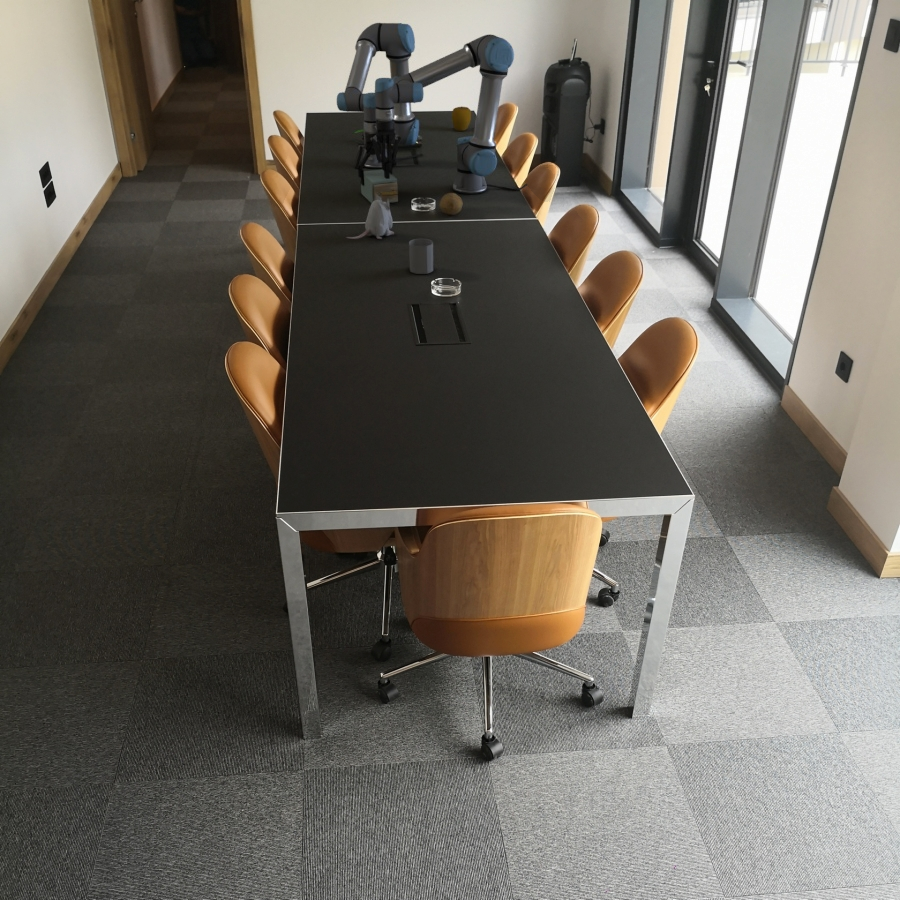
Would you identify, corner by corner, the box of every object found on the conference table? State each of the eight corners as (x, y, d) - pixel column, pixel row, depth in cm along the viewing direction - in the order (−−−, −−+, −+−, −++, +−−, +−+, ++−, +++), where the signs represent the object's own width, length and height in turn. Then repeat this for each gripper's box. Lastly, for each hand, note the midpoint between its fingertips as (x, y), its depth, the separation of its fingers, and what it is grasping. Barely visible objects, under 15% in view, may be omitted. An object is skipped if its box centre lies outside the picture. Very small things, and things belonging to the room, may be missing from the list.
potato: (461, 208, 368) (461, 189, 364) (463, 218, 357) (464, 199, 352) (438, 208, 368) (438, 190, 364) (440, 219, 356) (440, 199, 352)
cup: (409, 265, 311) (408, 238, 306) (432, 265, 312) (431, 238, 307) (410, 274, 304) (409, 246, 299) (433, 273, 305) (433, 246, 299)
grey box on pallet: (397, 201, 377) (397, 179, 372) (372, 204, 373) (371, 181, 368) (385, 191, 391) (384, 169, 385) (361, 193, 387) (360, 171, 382)
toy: (399, 234, 340) (398, 196, 332) (354, 249, 326) (352, 209, 317) (384, 229, 345) (382, 191, 337) (338, 243, 331) (336, 204, 323)
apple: (471, 132, 486) (471, 108, 479) (451, 132, 486) (451, 108, 479) (470, 128, 495) (471, 104, 488) (452, 128, 495) (452, 104, 488)
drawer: (401, 204, 371) (401, 186, 366) (379, 206, 367) (378, 188, 363) (386, 190, 387) (386, 173, 383) (364, 193, 384) (363, 175, 380)
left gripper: (349, 136, 364) (352, 188, 376) (402, 131, 372) (404, 182, 383) (344, 132, 370) (347, 183, 382) (397, 127, 378) (398, 178, 389)
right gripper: (372, 122, 348) (374, 181, 360) (403, 120, 352) (404, 178, 364) (367, 118, 354) (369, 177, 366) (397, 116, 358) (398, 174, 370)
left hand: (375, 183), depth 383 cm, fingers closed on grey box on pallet, 11 cm apart
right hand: (386, 177), depth 365 cm, fingers closed
